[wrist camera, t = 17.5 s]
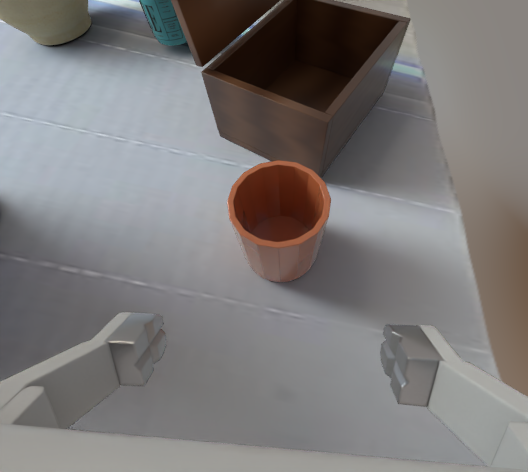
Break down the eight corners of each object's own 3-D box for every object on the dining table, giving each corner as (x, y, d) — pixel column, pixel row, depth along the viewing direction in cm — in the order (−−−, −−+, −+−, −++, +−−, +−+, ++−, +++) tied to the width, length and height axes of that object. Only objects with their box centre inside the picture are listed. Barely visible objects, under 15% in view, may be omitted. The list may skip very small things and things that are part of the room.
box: (384, 91, 30) (411, 18, 24) (317, 183, 26) (328, 122, 19) (293, 61, 34) (294, -10, 28) (219, 136, 29) (200, 71, 23)
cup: (291, 297, 21) (294, 267, 14) (230, 256, 23) (207, 214, 16) (330, 237, 23) (348, 186, 16) (270, 204, 25) (265, 147, 18)
